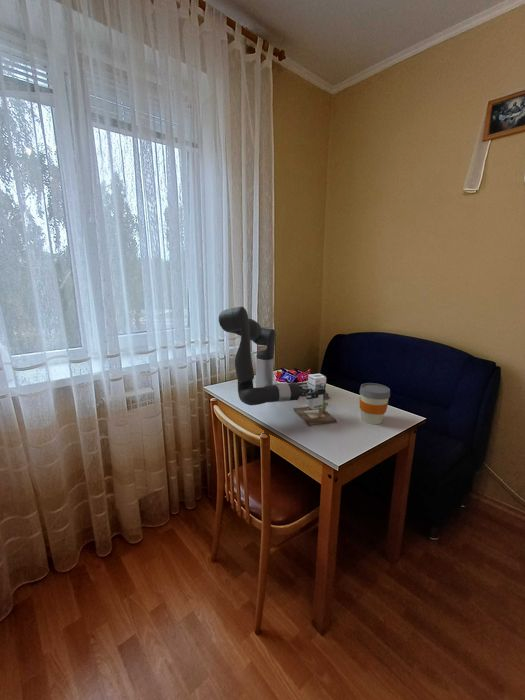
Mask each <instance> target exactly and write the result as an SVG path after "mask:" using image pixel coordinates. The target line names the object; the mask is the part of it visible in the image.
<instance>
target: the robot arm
mask: <svg viewBox="0 0 525 700" xmlns="http://www.w3.org/2000/svg"><path fill="white" fill-rule="evenodd" d="M218 323H219V326H220V328H221V329H222V330H223V331H224V332H226V333H230V334H235V335H237V336H240V342H239V346H238V348H237V351H236V354H235V357H234V368H235V374H236V379H237V394H238V398H239V401H241V402H242V404H245V405H247V406H257V405H258V406H259V405H262V404H266V403H277V402H278V403H279V402H283V403H284V402H285V403H286V402H291V401H298V400H299V398H301V397H304V398H305V399H306V400H307V399H314V398H318V397H319V395H323V394H325V392H326V388H325V389H319V390H313V389H312V388H308V382H287V383H286V382H284V383H278V384H273V382H274V355H275V345H276V344H275V343H276V331H275V329H273V328H269V327H268V328H265V327H262V326H261V325H260V324H259V322H257V321H256V320H254V319H252V318H249V314H248V312H247V309H246V308H245V307H244V306H237V307H232V308H228V309H224V310H222V311H221V312H220V313H219V315H218ZM251 341H252V343H254V344H255V345H258V346H263V347H265V346H266V348H265V349H263V350H259V351H257V352H256V358H255V359H256V360H255V362H256V363H255V364H256V365H255V366H256V369H255V373H254V367H253V361H252V353H251V352H252V351H251V350H252V349H251ZM254 379H255V387H254ZM309 390H310V391H311V392H309ZM313 391H314V392H313ZM326 393H327V392H326Z"/></svg>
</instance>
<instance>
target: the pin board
mask: <svg viewBox="0 0 525 700" xmlns="http://www.w3.org/2000/svg"><path fill="white" fill-rule="evenodd" d="M326 403H327V402H326ZM326 403H324V408H319V409H314V410H313V409H311V408H310V407H309V406H308V405H307V406H303V407H301V406H299V407H294V408H293V411H294V413H295V414H296V415H298V417H299V418H300V419H302V420H303V422H304V423H305V424H307V425H308V427H315V426H316V427H317V426H322V425H329V424H336V423H337V422H338V420H337V418H335V417H334V416H333V415H332V414H331V413H330V412H328V411H327V410H326V409H327V404H326Z"/></svg>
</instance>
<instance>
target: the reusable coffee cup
mask: <svg viewBox="0 0 525 700" xmlns="http://www.w3.org/2000/svg"><path fill="white" fill-rule="evenodd" d="M359 395H360V396H359V398H358V399H359V400H358V401H359V409H360V419H361V421H363V422H364V423H366V424H370V425H380V424H382V423H381V422H383V420H384V415H385V413H386V412H387V409H388V405H389V399H390V397H391V389H390V388H389V387H388V386H386V385H384V384H380V383H374V382H366V383H362V384H360V388H359Z"/></svg>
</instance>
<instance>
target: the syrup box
mask: <svg viewBox="0 0 525 700" xmlns="http://www.w3.org/2000/svg"><path fill="white" fill-rule="evenodd" d="M307 379H308V380H307V384H308V388H312V389H313V390H319V389H325V390H326V386H327V377H326V375H324V374H323V373H322V374H321V373H314V374H313V373H312V374H311V373H310V374H308V377H307ZM309 392H311V391H310V390H309ZM313 392H314V391H313ZM325 400H326V399H325V394H323V395H319V397H318V398H314V399H306V406H307V407H308V406H309V407H310V408H311V409H313V410H314V409H319V408H324V402H325Z"/></svg>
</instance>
